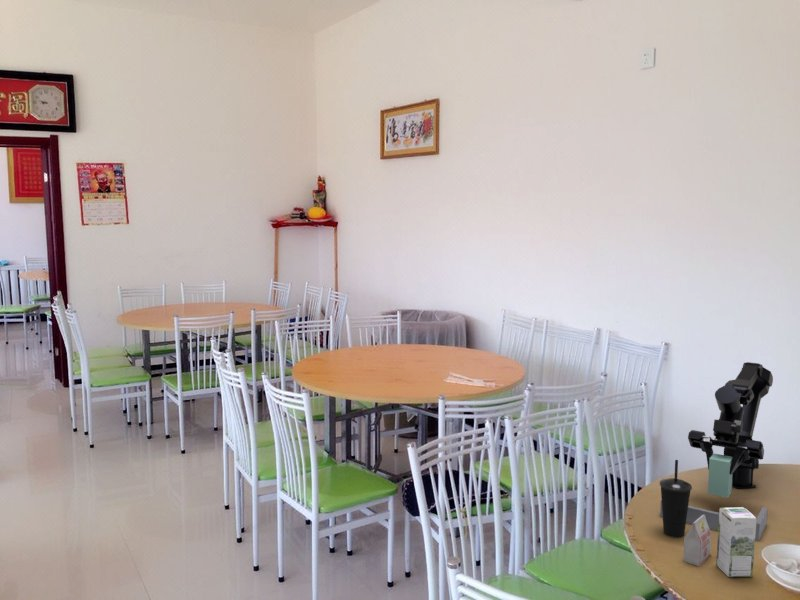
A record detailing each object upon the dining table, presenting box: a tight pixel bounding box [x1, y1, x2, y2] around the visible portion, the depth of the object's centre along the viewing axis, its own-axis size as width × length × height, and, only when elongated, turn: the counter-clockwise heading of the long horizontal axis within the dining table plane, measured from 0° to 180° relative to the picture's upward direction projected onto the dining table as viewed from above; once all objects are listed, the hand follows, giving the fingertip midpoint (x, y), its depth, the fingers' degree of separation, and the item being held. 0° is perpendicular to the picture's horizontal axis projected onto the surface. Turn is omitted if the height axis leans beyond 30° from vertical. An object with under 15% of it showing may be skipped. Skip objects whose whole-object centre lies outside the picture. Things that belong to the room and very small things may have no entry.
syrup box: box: [715, 506, 757, 578], centre depth 154 cm, size 6×6×14 cm
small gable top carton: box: [683, 515, 712, 567], centre depth 161 cm, size 4×7×10 cm, turn 136°
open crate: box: [659, 499, 768, 542], centre depth 180 cm, size 12×24×5 cm, turn 53°
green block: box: [707, 453, 733, 499], centre depth 185 cm, size 5×5×10 cm
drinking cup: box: [659, 459, 693, 539], centre depth 172 cm, size 8×8×20 cm
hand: (719, 471), depth 184 cm, fingers closed on green block, 5 cm apart
